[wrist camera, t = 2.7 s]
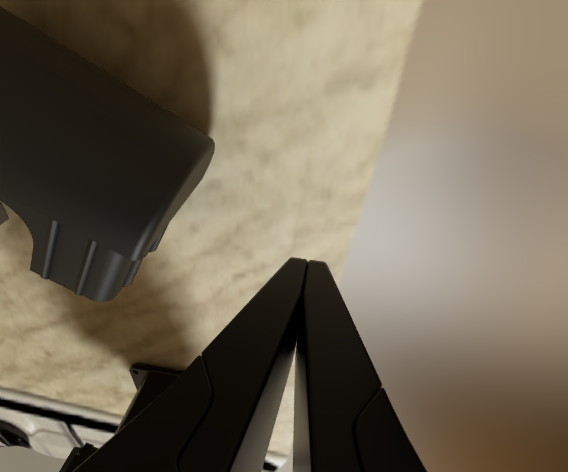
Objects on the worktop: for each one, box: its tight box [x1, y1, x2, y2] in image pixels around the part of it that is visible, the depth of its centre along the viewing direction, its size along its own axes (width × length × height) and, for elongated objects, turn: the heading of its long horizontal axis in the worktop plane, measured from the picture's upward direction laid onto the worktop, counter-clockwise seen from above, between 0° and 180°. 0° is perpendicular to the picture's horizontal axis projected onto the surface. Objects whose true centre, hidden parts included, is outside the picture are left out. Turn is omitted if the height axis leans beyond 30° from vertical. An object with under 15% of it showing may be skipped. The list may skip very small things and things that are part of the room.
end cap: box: [0, 6, 215, 302], centre depth 13 cm, size 10×7×7 cm
